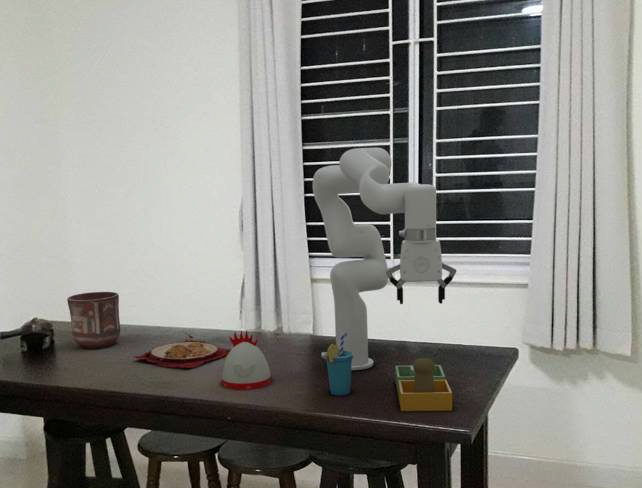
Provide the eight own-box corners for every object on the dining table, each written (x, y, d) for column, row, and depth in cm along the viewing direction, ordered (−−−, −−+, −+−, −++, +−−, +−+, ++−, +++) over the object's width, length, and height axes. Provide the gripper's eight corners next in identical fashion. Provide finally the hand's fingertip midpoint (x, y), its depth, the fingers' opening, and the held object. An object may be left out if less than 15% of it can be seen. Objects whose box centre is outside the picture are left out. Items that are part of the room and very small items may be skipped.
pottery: (82, 339, 283) (78, 292, 280) (128, 338, 280) (124, 290, 277) (64, 351, 265) (59, 301, 262) (112, 350, 263) (108, 299, 260)
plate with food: (132, 362, 247) (131, 351, 246) (187, 343, 267) (186, 333, 266) (185, 372, 232) (184, 361, 232) (239, 351, 252) (238, 341, 251)
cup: (333, 383, 212) (332, 330, 209) (361, 384, 209) (359, 331, 206) (319, 398, 199) (317, 342, 196) (348, 400, 196) (346, 343, 194)
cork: (436, 405, 187) (436, 362, 185) (411, 405, 188) (411, 362, 186) (436, 398, 193) (435, 356, 191) (412, 397, 194) (411, 355, 192)
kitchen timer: (224, 376, 224) (221, 326, 222) (271, 374, 224) (268, 324, 221) (220, 390, 211) (217, 337, 208) (270, 388, 210) (267, 335, 207)
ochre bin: (401, 411, 186) (400, 393, 185) (398, 397, 197) (398, 380, 196) (452, 410, 184) (452, 392, 183) (446, 396, 195) (446, 379, 194)
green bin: (397, 393, 199) (397, 377, 199) (395, 381, 210) (395, 365, 210) (445, 393, 198) (445, 376, 197) (440, 380, 209) (440, 365, 208)
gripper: (385, 237, 185) (386, 306, 189) (458, 235, 183) (457, 305, 186) (384, 234, 193) (385, 300, 196) (454, 232, 190) (454, 299, 194)
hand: (420, 302), depth 191 cm, fingers open, 9 cm apart
